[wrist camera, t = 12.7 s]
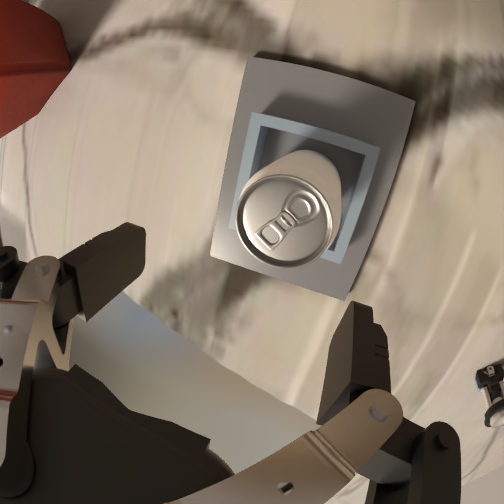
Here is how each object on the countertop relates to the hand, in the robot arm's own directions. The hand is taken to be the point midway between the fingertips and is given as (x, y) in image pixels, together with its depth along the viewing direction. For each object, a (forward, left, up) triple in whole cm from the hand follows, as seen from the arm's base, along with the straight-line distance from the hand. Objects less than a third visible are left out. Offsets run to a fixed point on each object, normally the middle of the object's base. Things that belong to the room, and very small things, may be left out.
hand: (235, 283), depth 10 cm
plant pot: (-11, -44, -20) cm, 50 cm away
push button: (+16, +37, -20) cm, 45 cm away
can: (0, 0, -19) cm, 19 cm away
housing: (0, 0, -20) cm, 20 cm away
